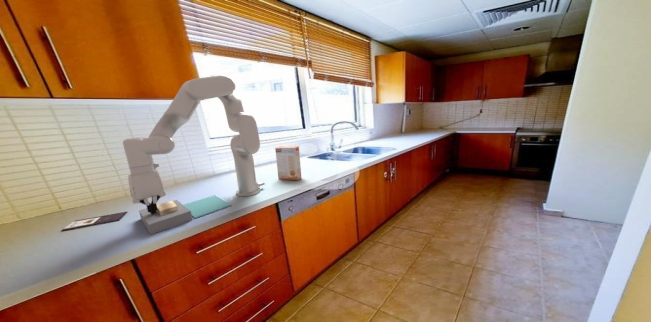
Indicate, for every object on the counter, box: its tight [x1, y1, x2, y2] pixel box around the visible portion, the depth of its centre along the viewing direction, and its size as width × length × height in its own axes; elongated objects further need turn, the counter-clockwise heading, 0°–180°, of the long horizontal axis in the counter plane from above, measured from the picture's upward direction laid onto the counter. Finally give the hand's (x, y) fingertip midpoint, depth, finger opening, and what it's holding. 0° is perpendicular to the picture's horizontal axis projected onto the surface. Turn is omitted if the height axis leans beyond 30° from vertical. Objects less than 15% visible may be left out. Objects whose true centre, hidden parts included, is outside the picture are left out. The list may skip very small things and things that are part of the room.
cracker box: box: [274, 145, 302, 181], centre depth 140 cm, size 14×6×21 cm, turn 69°
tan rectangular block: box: [156, 200, 178, 215], centre depth 94 cm, size 6×9×2 cm, turn 46°
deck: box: [138, 199, 193, 235], centre depth 94 cm, size 14×20×4 cm
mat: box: [183, 195, 233, 219], centre depth 105 cm, size 16×20×1 cm
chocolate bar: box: [61, 211, 128, 232], centre depth 96 cm, size 9×1×18 cm
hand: (153, 212), depth 90 cm, fingers closed
